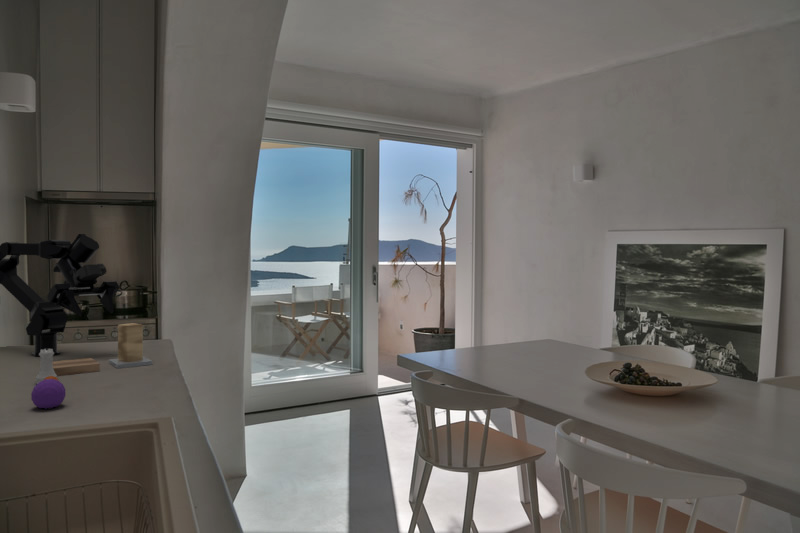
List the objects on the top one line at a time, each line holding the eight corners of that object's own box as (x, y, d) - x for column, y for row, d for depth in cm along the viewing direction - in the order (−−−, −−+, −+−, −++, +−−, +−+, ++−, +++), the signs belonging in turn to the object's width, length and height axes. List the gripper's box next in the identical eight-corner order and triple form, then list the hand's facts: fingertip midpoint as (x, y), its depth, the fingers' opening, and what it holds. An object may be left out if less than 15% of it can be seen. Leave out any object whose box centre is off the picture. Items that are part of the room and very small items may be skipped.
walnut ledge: (44, 369, 152) (44, 362, 152) (90, 364, 159) (90, 357, 159) (51, 376, 145) (51, 368, 145) (99, 371, 152) (99, 363, 152)
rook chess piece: (61, 381, 140) (61, 348, 140) (48, 385, 136) (48, 351, 135) (44, 380, 140) (44, 347, 140) (31, 384, 136) (30, 350, 136)
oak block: (118, 360, 161) (118, 324, 161) (132, 358, 165) (132, 323, 164) (127, 362, 159) (127, 326, 158) (142, 359, 162) (142, 324, 162)
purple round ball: (68, 371, 134) (68, 382, 116) (62, 397, 133) (62, 412, 116) (38, 368, 131) (34, 379, 114) (32, 395, 130) (27, 410, 113)
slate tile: (108, 363, 162) (108, 359, 162) (142, 359, 168) (142, 356, 168) (117, 368, 155) (117, 364, 155) (152, 364, 161) (152, 361, 161)
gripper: (52, 254, 158) (76, 296, 153) (116, 254, 174) (139, 292, 169) (37, 282, 162) (59, 324, 157) (100, 279, 179) (122, 317, 173)
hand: (97, 313), depth 164 cm, fingers open, 9 cm apart
